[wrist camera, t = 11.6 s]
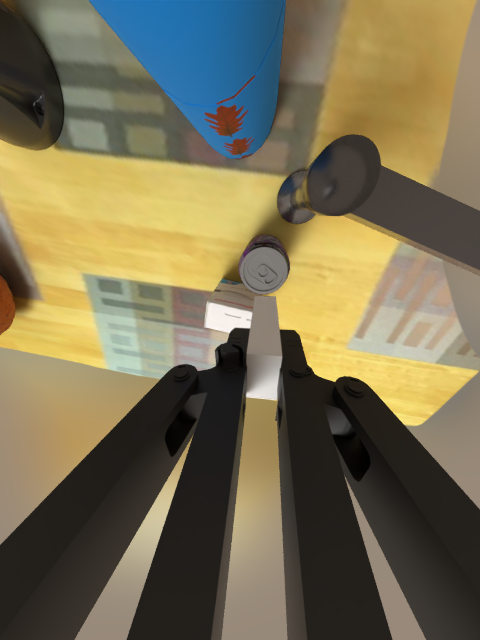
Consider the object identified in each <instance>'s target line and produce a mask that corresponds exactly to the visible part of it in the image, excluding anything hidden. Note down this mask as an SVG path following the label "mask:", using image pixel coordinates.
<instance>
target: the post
mask: <svg viewBox="0 0 480 640" xmlns="http://www.w3.org/2000/svg"><path fill="white" fill-rule="evenodd" d="M305 173H306V171H299V172H296V173H294V174H292V175H291V176H289V177H288V178H287V179H286V180H285V181H284V183H283V184H282V186H281V188H280V190H279V193H278V197H277V207H278V210H279V213H280V215H281V216H282V217H283V218H284V219H285V220H286V221H288V222H290V223H293V224H301V223H305V222H307V221H309V220H310V219H312V218H313V217H314V216H315V215H316V214H314V213H312V212H311V211H309V210H308V209H307V207H306V206H305V204H304V202H303V199H302V192H301V189H302V182H303V178H304V176H305Z"/></svg>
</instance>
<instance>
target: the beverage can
mask: <svg viewBox="0 0 480 640" xmlns="http://www.w3.org/2000/svg"><path fill="white" fill-rule="evenodd" d="M289 270H290V262H289V258H288V255H287V253H286V251H285V249H284V247H283V245H282V243H281V242H280V241H279V240H278V239H277V238H276V237H274V236H272V235H260V236H257V237H255V238H254V239H253V240H251V242H250V243H249V244H248V246H247V247H246V249H245V251H244V252H243V254H242V256H241V258H240V261H239V274H240V277H241V279H242V281H243V283H244V285H245V286H246V287H247V288H248V289H249V290H251V291H252V292H255V293H258V294H269V293H272V292H274V291H276V290H278V289H279V288H280V287H281V286H282V285H283V283H284V282H285V281H286V279H287V277H288V274H289Z"/></svg>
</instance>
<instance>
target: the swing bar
mask: <svg viewBox="0 0 480 640" xmlns="http://www.w3.org/2000/svg"><path fill="white" fill-rule="evenodd" d="M301 192H302V199H303V202H304V204H305V206H306V207H307V209H308V210H309V211H311V212H312V213H314V214H316V215H320V216H345V217H347V218H349V219H351V220H354V221H356V222H358V223H361V224H363V225H365V226H367V227H370V228H372V229H374V230H377V231H379V232H381V233H383V234H386V235H388V236H390V237H392V238H395V239H397V240H399V241H402V242H404V243H406V244H408V245H411V246H413V247H415V248H418V249H420V250H422V251H424V252H427V253H429V254H431V255H434V256H436V257H438V258H440V259H443V260H445V261H447V262H450V263H452V264H454V265H456V266H459V267H461V268H463V269H465V270H468V271H470V272H472V273H475V274H477V275H479V276H480V211H478V210H476V209H474V208H472V207H470V206H468V205H465V204H463V203H461V202H459V201H457V200H455V199H452V198H450V197H448V196H446V195H444V194H442V193H440V192H437V191H435V190H433V189H431V188H429V187H427V186H425V185H422V184H420V183H418V182H416V181H414V180H412V179H410V178H407V177H405V176H403V175H401V174H399V173H397V172H394V171H392V170H390V169H388V168H386V167H384V166H382V165H381V160H380V155H379V152H378V149H377V147H376V146H375V144H374V143H373V142H372V141H371V140H370V139H368V138H367V137H364V136H362V135H346V136H343V137H341V138H339V139H336V140H335V141H333V142H332V143H331V144H329V145H328V146H327V147H326V148H325V149H324V150H323V151H322V152H321V154H320V155H319V156H318V157H317V158H316V159H315V160H314V162H313V163H312V164H311V165H310V166H309V168H308V170H307V171H306V173H305V176H304V178H303V182H302V189H301Z"/></svg>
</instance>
